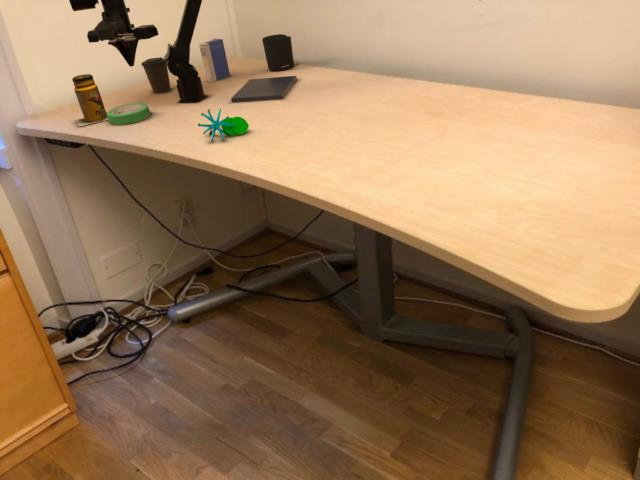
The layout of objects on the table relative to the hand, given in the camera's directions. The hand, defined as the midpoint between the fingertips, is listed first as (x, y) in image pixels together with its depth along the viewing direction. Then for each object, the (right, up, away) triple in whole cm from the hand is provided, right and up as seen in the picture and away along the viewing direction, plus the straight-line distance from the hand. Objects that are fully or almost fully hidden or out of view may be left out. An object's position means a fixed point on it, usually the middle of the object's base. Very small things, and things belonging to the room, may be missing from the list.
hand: (131, 66), depth 164 cm
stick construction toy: (+31, -25, -22) cm, 45 cm away
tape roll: (0, -15, -1) cm, 15 cm away
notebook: (+36, -4, +11) cm, 37 cm away
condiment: (-11, -15, +1) cm, 19 cm away
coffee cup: (+1, 0, +23) cm, 23 cm away
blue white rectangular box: (+17, +6, +30) cm, 35 cm away
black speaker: (+37, +11, +34) cm, 52 cm away
